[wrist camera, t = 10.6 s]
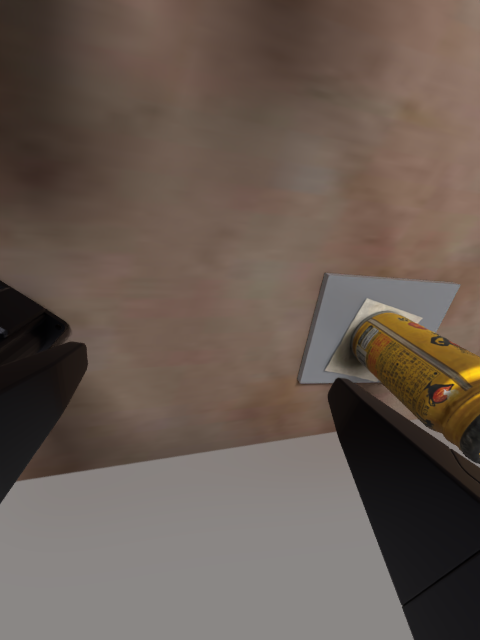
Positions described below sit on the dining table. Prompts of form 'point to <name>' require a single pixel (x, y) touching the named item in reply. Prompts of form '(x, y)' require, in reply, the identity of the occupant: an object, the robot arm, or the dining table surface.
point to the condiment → (416, 371)
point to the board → (345, 302)
